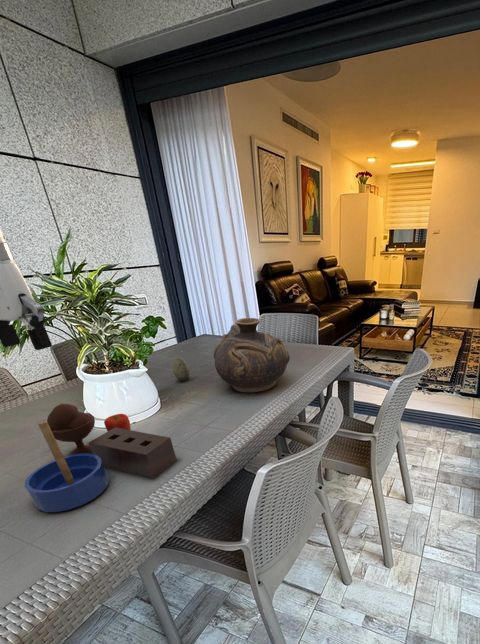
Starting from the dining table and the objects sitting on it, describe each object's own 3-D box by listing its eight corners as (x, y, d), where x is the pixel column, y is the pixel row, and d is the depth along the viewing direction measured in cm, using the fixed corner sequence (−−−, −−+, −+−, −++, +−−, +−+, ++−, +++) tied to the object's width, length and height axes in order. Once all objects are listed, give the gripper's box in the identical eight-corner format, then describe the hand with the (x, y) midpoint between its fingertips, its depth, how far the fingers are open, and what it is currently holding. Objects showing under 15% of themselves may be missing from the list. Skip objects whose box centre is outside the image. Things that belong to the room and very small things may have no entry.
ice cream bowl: (114, 445, 100) (95, 397, 92) (76, 467, 91) (52, 415, 84) (89, 438, 104) (70, 392, 96) (50, 458, 95) (26, 408, 88)
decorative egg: (172, 382, 142) (166, 358, 137) (182, 377, 147) (176, 353, 142) (185, 383, 140) (179, 359, 135) (194, 378, 145) (189, 354, 140)
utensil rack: (97, 465, 91) (88, 442, 88) (123, 449, 98) (115, 427, 94) (153, 478, 85) (145, 454, 82) (176, 460, 92) (170, 437, 89)
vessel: (240, 369, 152) (234, 309, 140) (300, 378, 144) (299, 316, 132) (202, 393, 130) (191, 324, 117) (270, 405, 122) (266, 333, 110)
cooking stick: (68, 491, 81) (35, 423, 72) (75, 487, 82) (43, 419, 74) (73, 492, 81) (40, 424, 72) (80, 488, 82) (48, 420, 73)
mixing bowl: (21, 506, 78) (8, 484, 75) (80, 469, 90) (71, 449, 87) (67, 520, 73) (56, 498, 71) (123, 479, 85) (115, 459, 82)
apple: (123, 432, 107) (116, 409, 103) (139, 435, 104) (131, 412, 101) (106, 442, 101) (97, 419, 98) (122, 446, 99) (113, 422, 96)
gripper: (-66, 257, 64) (-19, 349, 73) (-6, 256, 59) (38, 355, 67) (-20, 254, 71) (19, 339, 79) (39, 253, 65) (74, 344, 73)
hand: (27, 346), depth 73 cm, fingers open, 9 cm apart
